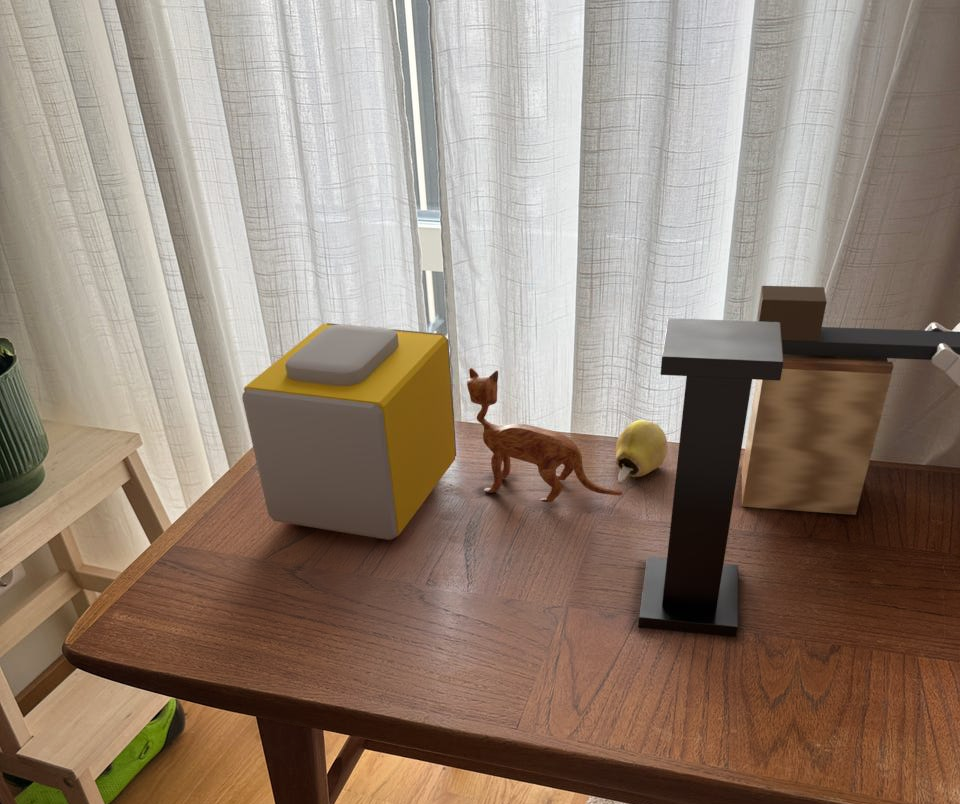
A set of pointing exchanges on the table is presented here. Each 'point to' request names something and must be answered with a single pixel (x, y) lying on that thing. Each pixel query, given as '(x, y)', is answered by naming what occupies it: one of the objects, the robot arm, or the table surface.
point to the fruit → (640, 449)
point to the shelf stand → (707, 470)
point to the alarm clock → (353, 428)
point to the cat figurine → (527, 444)
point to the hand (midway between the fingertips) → (931, 341)
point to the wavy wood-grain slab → (814, 433)
